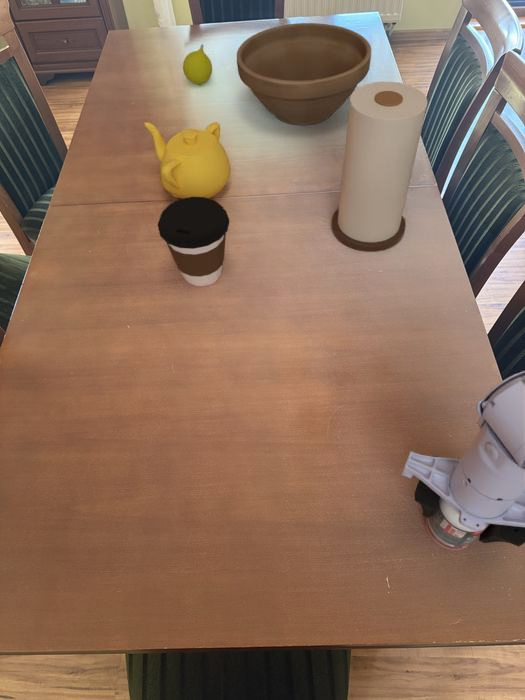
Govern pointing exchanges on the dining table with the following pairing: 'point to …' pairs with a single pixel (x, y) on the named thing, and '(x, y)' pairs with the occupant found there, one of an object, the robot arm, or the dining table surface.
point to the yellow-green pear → (197, 67)
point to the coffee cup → (196, 238)
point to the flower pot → (303, 69)
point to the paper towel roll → (378, 164)
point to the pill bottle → (450, 528)
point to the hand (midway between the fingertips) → (454, 521)
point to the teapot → (192, 162)
